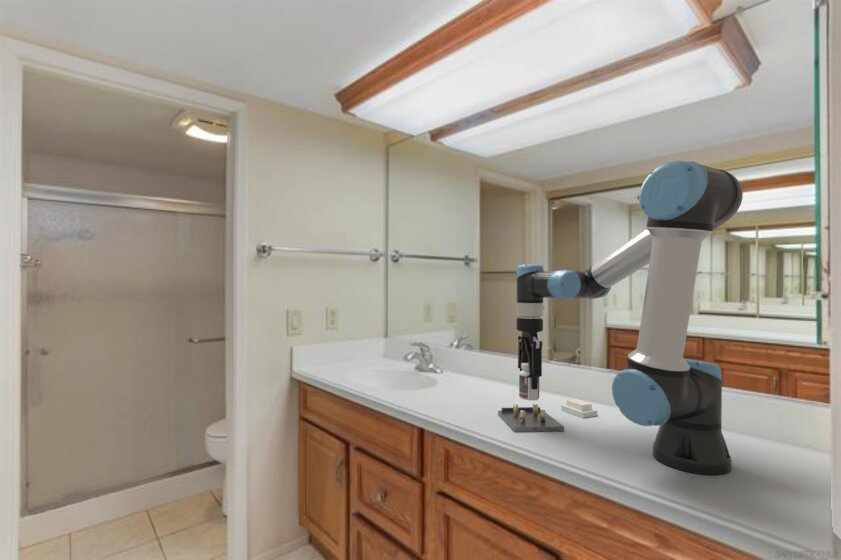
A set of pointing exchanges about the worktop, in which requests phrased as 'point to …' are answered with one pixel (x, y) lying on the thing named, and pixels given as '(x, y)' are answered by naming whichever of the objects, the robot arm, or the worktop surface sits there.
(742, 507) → the worktop surface
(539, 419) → the plate
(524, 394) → the pill bottle
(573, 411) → the soap dish
